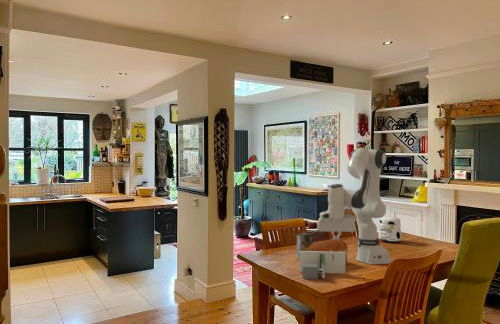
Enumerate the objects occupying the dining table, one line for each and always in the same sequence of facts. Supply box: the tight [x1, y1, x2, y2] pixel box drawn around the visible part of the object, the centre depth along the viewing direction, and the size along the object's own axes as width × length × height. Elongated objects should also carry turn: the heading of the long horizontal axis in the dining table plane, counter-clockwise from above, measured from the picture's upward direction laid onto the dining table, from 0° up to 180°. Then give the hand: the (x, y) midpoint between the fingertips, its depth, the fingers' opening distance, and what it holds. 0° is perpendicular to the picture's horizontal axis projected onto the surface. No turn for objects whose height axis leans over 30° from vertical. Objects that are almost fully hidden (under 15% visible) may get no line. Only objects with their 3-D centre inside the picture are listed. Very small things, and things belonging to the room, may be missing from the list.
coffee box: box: [296, 232, 314, 260], centre depth 241 cm, size 9×6×16 cm
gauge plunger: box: [302, 254, 326, 279], centre depth 205 cm, size 12×12×10 cm
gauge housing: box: [299, 251, 346, 280], centre depth 206 cm, size 26×12×12 cm, turn 86°
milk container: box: [377, 216, 402, 243], centre depth 294 cm, size 17×17×18 cm
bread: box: [307, 237, 349, 265], centre depth 229 cm, size 25×12×15 cm, turn 131°
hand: (336, 239), depth 202 cm, fingers closed
